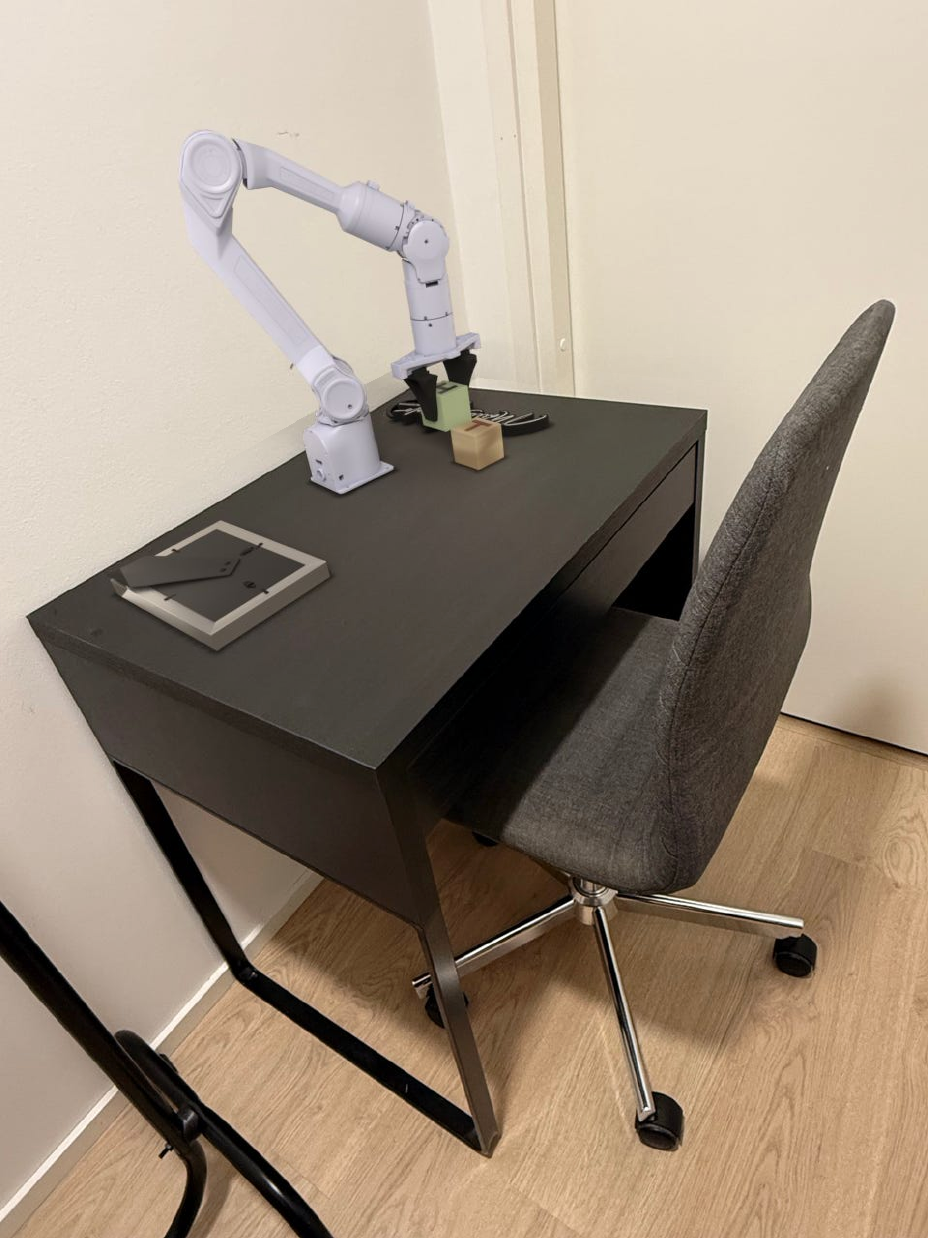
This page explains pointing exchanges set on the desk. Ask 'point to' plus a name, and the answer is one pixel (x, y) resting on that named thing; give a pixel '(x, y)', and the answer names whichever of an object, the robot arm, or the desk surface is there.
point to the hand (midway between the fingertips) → (445, 413)
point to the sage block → (450, 406)
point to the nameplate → (508, 422)
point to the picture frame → (219, 582)
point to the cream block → (477, 443)
